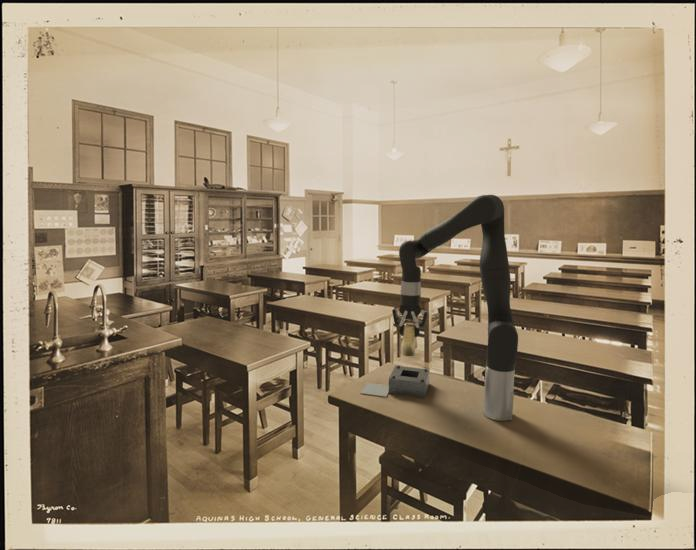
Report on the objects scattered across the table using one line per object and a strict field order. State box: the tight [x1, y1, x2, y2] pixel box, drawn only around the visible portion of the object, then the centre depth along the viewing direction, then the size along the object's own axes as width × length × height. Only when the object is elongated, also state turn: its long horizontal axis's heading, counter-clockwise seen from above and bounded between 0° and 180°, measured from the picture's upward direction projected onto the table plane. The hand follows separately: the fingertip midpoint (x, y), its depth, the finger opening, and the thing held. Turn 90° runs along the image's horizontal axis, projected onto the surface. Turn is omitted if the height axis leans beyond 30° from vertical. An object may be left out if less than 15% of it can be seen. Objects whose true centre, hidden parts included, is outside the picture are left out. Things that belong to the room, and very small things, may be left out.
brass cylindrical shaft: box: [401, 322, 417, 357], centre depth 158 cm, size 5×5×12 cm
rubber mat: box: [360, 382, 390, 398], centre depth 159 cm, size 10×10×1 cm
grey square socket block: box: [388, 365, 431, 399], centre depth 161 cm, size 14×14×7 cm
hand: (409, 335), depth 158 cm, fingers closed on brass cylindrical shaft, 5 cm apart
